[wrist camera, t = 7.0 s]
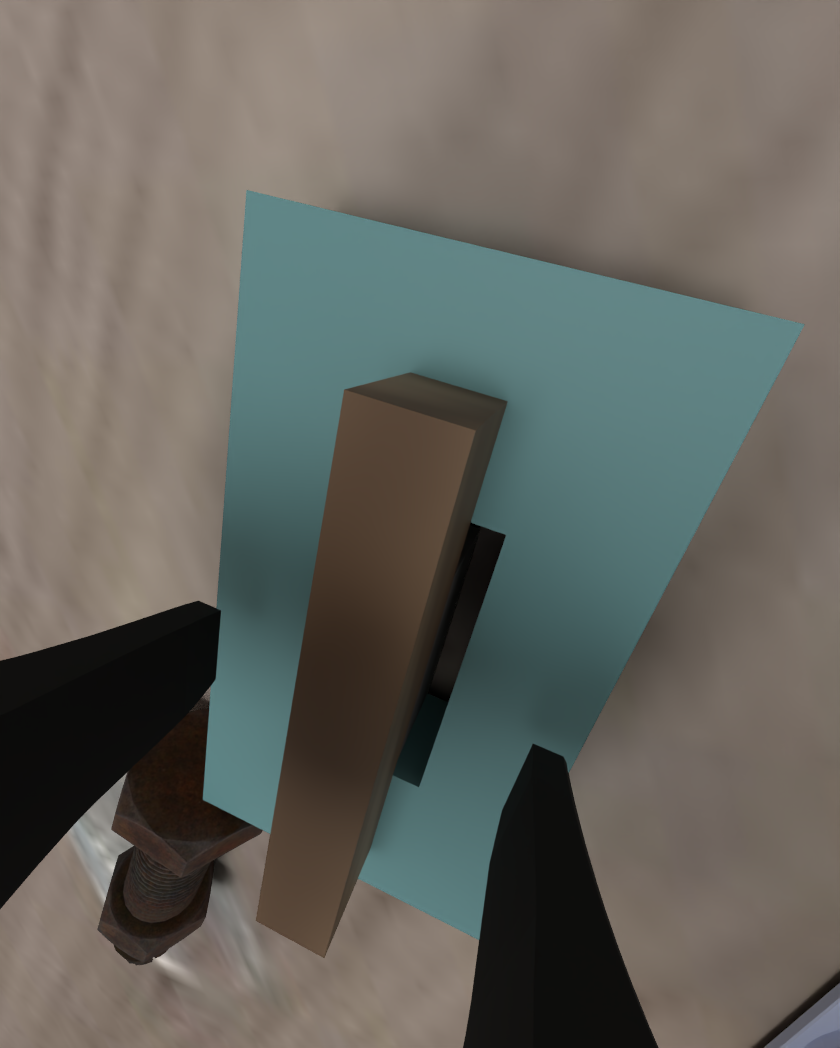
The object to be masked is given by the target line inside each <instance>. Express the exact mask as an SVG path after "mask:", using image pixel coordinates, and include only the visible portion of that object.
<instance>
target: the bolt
mask: <svg viewBox="0 0 840 1048" xmlns="http://www.w3.org/2000/svg"><path fill="white" fill-rule="evenodd" d="M208 720H209V709H200V710H196V711H191V712H189V713H188V714H187V715H186V716H185V717H184V718H183V719H182V720H181V721H180V722H179V723H178V724H177V725H176V726H175V727H174V728H173V729H172V730H171V731H170V732H169V733H168V734H167V735H166V736H165V737H164V738H163V739H162V740H161V741H160V742H159V743H157V744H156V745H155V746H154V747H153V748H152V749H151V750H150V751H149V752H148V753H147V754H146V755H145V756H144V757H143V758H142V759H141V760H140V761H139V762H137V763H136V764H135V765H134V766H133V767H132V768H131V769H130V770H129V771H128V772H127V775H126V779H125V782H124V785H123V788H122V792H121V795H120V799H119V802H118V806H117V809H116V813H115V817H114V821H113V825H112V829H111V830H113V831H114V832H116V833H117V834H118V835H120V836H121V837H123V838H124V839H126V840H127V841H129V842H130V843H131V844H133V845H134V846H133V847H131V848H130V849H128V850H127V851H125V852H123V853H122V854H120V855H119V856H118V859H117V862H116V865H115V869H114V872H113V876H112V879H111V883H110V886H109V890H108V893H107V897H106V900H105V904H104V907H103V911H102V914H101V918H100V922H99V926H98V929H97V930H98V931H99V932H100V933H101V934H103V935H104V936H105V937H106V938H107V939H108V940H109V941H110V942H111V943H113V944H114V947H115V949H116V951H117V952H118V953H119V954H120V955H121V956H122V957H123V958H125V959H126V960H127V961H128V962H129V963H133V964H136V965H144V964H147V963H150V962H152V960H153V959H152V958H153V957H155V958H157V957H160V956H161V955H163V954H164V953H165V952H166V951H167V950H168V949H169V948H170V947H172V946H173V945H175V944H176V943H178V942H179V941H181V940H182V939H184V938H185V937H187V936H188V935H189V934H191V933H192V932H194V931H195V930H196V929H198V928H199V927H200V926H201V925H202V923H203V921H204V919H205V917H206V913H207V908H208V903H209V898H210V891H211V885H212V878H213V871H214V859H216V858H218V857H220V856H221V855H223V854H225V853H227V852H229V851H230V850H232V849H234V848H236V847H238V846H239V845H241V844H243V843H245V842H247V841H248V840H250V839H252V838H254V837H256V836H257V835H259V834H261V832H262V829H260V828H258V827H256V826H254V825H252V824H250V823H248V822H246V821H244V820H242V819H240V818H238V817H236V816H234V815H232V814H230V813H228V812H226V811H224V810H222V809H220V808H218V807H216V806H214V805H212V804H210V803H208V802H206V801H204V800H203V790H204V776H205V762H206V748H207V734H208Z"/></svg>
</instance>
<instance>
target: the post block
mask: <svg viewBox="0 0 840 1048" xmlns="http://www.w3.org/2000/svg"><path fill="white" fill-rule="evenodd" d="M804 325H805V324H801V323H797V322H793V321H789V320H785V319H780V318H776V317H772V316H768V315H764V314H760V313H755V312H751V311H747V310H743V309H739V308H735V307H730V306H726V305H722V304H718V303H714V302H710V301H706V300H701V299H697V298H693V297H689V296H685V295H681V294H676V293H672V292H668V291H664V290H660V289H656V288H652V287H647V286H643V285H639V284H635V283H631V282H627V281H622V280H618V279H614V278H610V277H606V276H602V275H597V274H593V273H589V272H585V271H581V270H577V269H573V268H568V267H564V266H560V265H556V264H552V263H548V262H543V261H539V260H535V259H531V258H527V257H523V256H519V255H514V254H510V253H506V252H502V251H498V250H494V249H489V248H485V247H481V246H477V245H473V244H469V243H464V242H460V241H456V240H452V239H448V238H444V237H440V236H435V235H431V234H427V233H423V232H419V231H415V230H410V229H406V228H402V227H398V226H394V225H390V224H386V223H381V222H377V221H373V220H369V219H365V218H361V217H356V216H352V215H348V214H344V213H340V212H336V211H331V210H327V209H323V208H319V207H315V206H311V205H307V204H302V203H298V202H294V201H290V200H286V199H282V198H277V197H273V196H269V195H265V194H261V193H257V192H252V191H248V190H247V192H246V206H245V220H244V234H243V248H242V261H241V275H240V289H239V303H238V317H237V331H236V345H235V359H234V373H233V387H232V400H231V414H230V428H229V442H228V456H227V470H226V484H225V498H224V512H223V526H222V540H221V553H220V567H219V581H218V595H217V609H219V610H221V619H220V632H219V645H218V657H217V670H216V680H215V681H214V682H213V684H212V685H211V692H210V706H209V720H208V734H207V748H206V762H205V776H204V790H203V800H204V801H206V802H208V803H210V804H212V805H214V806H216V807H218V808H220V809H222V810H224V811H226V812H228V813H230V814H232V815H234V816H236V817H238V818H240V819H242V820H244V821H246V822H248V823H250V824H252V825H254V826H256V827H258V828H260V829H262V830H264V831H266V832H267V833H269V834H270V833H271V827H272V821H273V815H274V809H275V803H276V797H277V791H278V784H279V778H280V772H281V766H282V760H283V754H284V748H285V742H286V736H287V730H288V724H289V718H290V712H291V706H292V700H293V694H294V688H295V682H296V676H297V670H298V664H299V658H300V652H301V646H302V640H303V634H304V628H305V622H306V616H307V610H308V604H309V598H310V592H311V586H312V580H313V574H314V568H315V562H316V556H317V550H318V544H319V538H320V532H321V526H322V520H323V514H324V508H325V502H326V496H327V490H328V484H329V478H330V472H331V466H332V460H333V454H334V448H335V442H336V435H337V429H338V423H339V417H340V411H341V405H342V399H343V393H344V389H348V388H352V387H356V386H360V385H364V384H367V383H371V382H375V381H379V380H383V379H387V378H390V377H394V376H398V375H402V374H406V373H410V372H411V373H414V374H418V375H421V376H425V377H428V378H431V379H435V380H438V381H441V382H445V383H448V384H451V385H455V386H458V387H462V388H465V389H468V390H472V391H475V392H478V393H482V394H485V395H488V396H492V397H495V398H499V399H502V400H505V401H508V402H507V406H506V409H505V412H504V416H503V419H502V422H501V425H500V429H499V432H498V435H497V438H496V442H495V445H494V448H493V451H492V455H491V458H490V461H489V464H488V468H487V471H486V474H485V477H484V481H483V484H482V487H481V490H480V494H479V497H478V500H477V503H476V507H475V510H474V513H473V516H472V520H471V523H473V524H476V525H479V526H482V527H485V528H488V529H490V530H493V531H496V532H499V533H502V534H505V535H506V537H505V540H504V543H503V546H502V549H501V552H500V555H499V558H498V561H497V563H496V566H495V569H494V572H493V575H492V578H491V581H490V584H489V587H488V590H487V592H486V595H485V598H484V601H483V604H482V607H481V610H480V613H479V616H478V618H477V621H476V624H475V627H474V630H473V633H472V636H471V639H470V642H469V644H468V647H467V650H466V653H465V656H464V659H463V662H462V665H461V668H460V671H459V673H458V676H457V679H456V682H455V685H454V688H453V691H452V694H451V697H450V699H449V702H447V701H444V700H442V699H440V698H437V697H435V696H432V695H430V694H428V693H427V695H426V698H425V700H424V702H423V704H422V707H421V709H420V711H419V713H418V716H417V718H416V720H415V722H414V724H413V727H412V729H411V731H410V733H409V736H408V738H407V740H406V742H405V745H404V747H403V749H402V751H401V754H400V756H399V758H398V760H397V764H396V767H395V770H394V773H393V777H392V780H391V783H390V786H389V790H388V793H387V796H386V799H385V803H384V806H383V809H382V812H381V816H380V819H379V822H378V825H377V829H376V832H375V835H374V838H373V842H372V845H371V848H370V851H369V853H368V856H367V858H366V860H365V863H364V865H363V867H362V870H361V872H360V875H359V877H358V879H360V880H362V881H364V882H366V883H368V884H370V885H372V886H374V887H376V888H378V889H380V890H382V891H384V892H386V893H388V894H390V895H392V896H394V897H395V898H397V899H399V900H401V901H403V902H405V903H407V904H409V905H411V906H413V907H415V908H417V909H419V910H421V911H423V912H425V913H427V914H429V915H431V916H433V917H435V918H437V919H439V920H441V921H443V922H445V923H447V924H449V925H451V926H453V927H455V928H457V929H458V930H460V931H462V932H464V933H466V934H468V935H470V936H472V937H474V938H476V939H478V940H479V938H480V930H481V923H482V915H483V907H484V900H485V892H486V885H487V877H488V870H489V863H490V859H491V854H492V850H493V846H494V841H495V837H496V833H497V829H498V825H499V820H500V816H501V812H502V809H503V807H504V805H505V803H506V800H507V798H508V796H509V794H510V792H511V790H512V788H513V785H514V783H515V781H516V779H517V777H518V775H519V772H520V770H521V768H522V766H523V764H524V762H525V760H526V757H527V755H528V753H529V751H530V749H531V747H532V744H536V745H538V746H540V747H543V748H545V749H547V750H550V751H552V752H554V753H557V754H559V755H561V756H563V757H564V759H565V761H566V763H567V768H568V773H569V771H570V770H571V768H572V766H573V764H574V762H575V760H576V758H577V756H578V754H579V752H580V750H581V749H582V747H583V745H584V743H585V741H586V739H587V737H588V735H589V733H590V731H591V730H592V728H593V726H594V724H595V722H596V720H597V718H598V716H599V714H600V712H601V711H602V709H603V707H604V705H605V703H606V701H607V699H608V697H609V695H610V693H611V692H612V690H613V688H614V686H615V684H616V682H617V680H618V678H619V676H620V674H621V673H622V671H623V669H624V667H625V665H626V663H627V661H628V659H629V657H630V655H631V654H632V652H633V650H634V648H635V646H636V644H637V642H638V640H639V638H640V636H641V635H642V633H643V631H644V629H645V627H646V625H647V623H648V621H649V619H650V617H651V616H652V614H653V612H654V610H655V608H656V606H657V604H658V602H659V600H660V598H661V597H662V595H663V593H664V591H665V589H666V587H667V585H668V583H669V581H670V579H671V578H672V576H673V574H674V572H675V570H676V568H677V566H678V564H679V562H680V560H681V559H682V557H683V555H684V553H685V551H686V549H687V547H688V545H689V543H690V541H691V539H692V538H693V536H694V534H695V532H696V530H697V528H698V526H699V524H700V522H701V520H702V519H703V517H704V515H705V513H706V511H707V509H708V507H709V505H710V503H711V501H712V500H713V498H714V496H715V494H716V492H717V490H718V488H719V486H720V484H721V482H722V481H723V479H724V477H725V475H726V473H727V471H728V469H729V467H730V465H731V463H732V462H733V460H734V458H735V456H736V454H737V452H738V450H739V448H740V446H741V444H742V443H743V441H744V439H745V437H746V435H747V433H748V431H749V429H750V427H751V425H752V424H753V422H754V420H755V418H756V416H757V414H758V412H759V410H760V408H761V406H762V405H763V403H764V401H765V399H766V397H767V395H768V393H769V391H770V389H771V387H772V386H773V384H774V382H775V380H776V378H777V376H778V374H779V372H780V370H781V368H782V367H783V365H784V363H785V361H786V359H787V357H788V355H789V353H790V351H791V349H792V348H793V346H794V344H795V342H796V340H797V338H798V336H799V334H800V332H801V330H802V329H803V327H804Z"/></svg>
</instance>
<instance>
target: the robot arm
mask: <svg viewBox="0 0 840 1048" xmlns="http://www.w3.org/2000/svg"><path fill="white" fill-rule="evenodd" d="M220 619H221V610H219V609H217V608H214V607H212V606H209V605H207V604H205V603H202V602H200V601H196V602H192V603H189V604H185V605H182V606H179V607H176V608H173V609H170V610H167V611H164V612H161V613H158V614H155V615H152V616H149V617H146V618H143V619H140V620H137V621H134V622H131V623H128V624H125V625H122V626H119V627H116V628H113V629H110V630H107V631H103V632H100V633H97V634H94V635H91V636H88V637H84V638H81V639H78V640H74V641H71V642H67V643H64V644H60V645H57V646H54V647H50V648H47V649H43V650H40V651H36V652H33V653H29V654H25V655H22V656H18V657H14V658H10V659H6V660H2V661H0V909H1V908H2V906H3V905H4V904H5V903H6V902H7V901H8V899H9V898H10V897H11V896H12V895H13V893H14V892H15V891H16V890H17V889H18V888H19V886H20V885H21V884H22V883H23V882H24V881H25V879H26V878H27V877H28V876H29V875H30V874H31V872H32V871H33V870H34V869H35V868H36V867H37V865H38V864H39V863H40V862H41V861H42V860H43V859H44V858H45V856H46V855H47V854H48V853H49V852H50V851H51V850H52V849H53V847H54V846H55V845H56V844H57V843H58V842H59V841H60V840H61V838H62V837H63V836H64V835H65V834H66V833H67V832H68V831H69V830H70V828H71V827H72V826H73V825H74V824H75V823H76V822H77V821H78V820H79V819H80V818H81V817H82V816H83V814H84V813H85V812H86V811H87V810H88V809H89V808H90V807H91V806H92V805H93V804H94V803H95V802H96V801H97V800H98V799H99V798H100V797H102V796H103V795H104V794H105V793H106V792H107V791H108V790H109V789H110V788H111V787H112V786H113V785H114V784H115V783H116V782H117V781H118V780H119V779H121V778H122V777H123V776H124V775H125V774H126V773H127V772H128V771H129V770H130V769H131V768H132V767H133V766H134V765H135V764H136V763H137V762H139V761H140V760H141V759H142V758H143V757H144V756H145V755H146V754H147V753H148V752H149V751H150V750H151V749H152V748H153V747H154V746H155V745H156V744H157V743H159V742H160V741H161V740H162V739H163V738H164V737H165V736H166V735H167V734H168V733H169V732H170V731H171V730H172V729H173V728H174V727H175V726H176V725H177V724H178V723H179V722H180V721H181V720H182V719H183V718H184V717H185V716H186V715H187V714H188V713H189V711H190V710H191V709H192V708H193V707H194V706H195V704H196V703H197V702H198V701H199V700H200V699H201V697H202V696H203V695H204V694H205V692H206V691H207V690H208V689H209V687H210V686H211V685H212V684H213V682H214V681H215V680H216V670H217V657H218V645H219V632H220ZM463 1048H658V1045H657V1043H656V1041H655V1039H654V1036H653V1034H652V1032H651V1029H650V1027H649V1025H648V1022H647V1020H646V1017H645V1015H644V1012H643V1010H642V1007H641V1005H640V1002H639V1000H638V997H637V995H636V992H635V990H634V988H633V985H632V982H631V980H630V977H629V975H628V972H627V969H626V967H625V964H624V961H623V959H622V956H621V953H620V950H619V948H618V945H617V942H616V939H615V936H614V933H613V930H612V928H611V925H610V922H609V919H608V916H607V913H606V910H605V907H604V904H603V901H602V898H601V895H600V891H599V888H598V885H597V882H596V878H595V875H594V872H593V868H592V865H591V861H590V858H589V855H588V851H587V848H586V844H585V841H584V837H583V833H582V829H581V826H580V821H579V817H578V813H577V809H576V805H575V801H574V797H573V792H572V788H571V783H570V778H569V773H568V768H567V763H566V761H565V759H564V757H563V756H561V755H559V754H557V753H554V752H552V751H550V750H547V749H545V748H543V747H540V746H538V745H536V744H532V747H531V749H530V751H529V753H528V755H527V757H526V760H525V762H524V764H523V766H522V768H521V770H520V772H519V775H518V777H517V779H516V781H515V783H514V785H513V788H512V790H511V792H510V794H509V796H508V798H507V800H506V803H505V805H504V807H503V809H502V812H501V816H500V820H499V825H498V829H497V833H496V837H495V841H494V846H493V850H492V854H491V859H490V863H489V870H488V877H487V885H486V892H485V900H484V907H483V915H482V923H481V930H480V938H479V946H478V954H477V961H476V969H475V977H474V984H473V992H472V1000H471V1006H470V1012H469V1018H468V1024H467V1030H466V1036H465V1041H464V1046H463ZM764 1048H840V983H839V984H838V985H836V986H835V987H834V988H833V989H832V990H831V991H829V992H828V993H827V994H826V995H825V996H824V997H822V998H821V999H820V1000H819V1001H818V1002H817V1003H815V1004H814V1005H813V1006H812V1007H811V1008H810V1009H808V1010H807V1011H806V1012H805V1013H804V1014H803V1015H801V1016H800V1017H799V1018H798V1019H797V1020H795V1021H794V1022H793V1023H792V1024H791V1025H790V1026H788V1027H787V1028H786V1029H785V1030H784V1031H783V1032H781V1033H780V1034H779V1035H778V1036H777V1037H776V1038H774V1039H773V1040H772V1041H771V1042H770V1043H769V1044H767V1045H766V1046H765V1047H764Z"/></svg>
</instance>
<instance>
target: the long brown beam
mask: <svg viewBox="0 0 840 1048" xmlns="http://www.w3.org/2000/svg"><path fill="white" fill-rule="evenodd" d="M507 402H508V401H505V400H502V399H499V398H495V397H492V396H488V395H485V394H482V393H478V392H475V391H472V390H468V389H465V388H462V387H458V386H455V385H451V384H448V383H445V382H441V381H438V380H435V379H431V378H428V377H425V376H421V375H418V374H414V373H411V372H410V373H406V374H402V375H398V376H394V377H390V378H387V379H383V380H379V381H375V382H371V383H367V384H364V385H360V386H356V387H352V388H348V389H344V393H343V399H342V405H341V411H340V417H339V423H338V429H337V435H336V442H335V448H334V454H333V460H332V466H331V472H330V478H329V484H328V490H327V496H326V502H325V508H324V514H323V520H322V526H321V532H320V538H319V544H318V550H317V556H316V562H315V568H314V574H313V580H312V586H311V592H310V598H309V604H308V610H307V616H306V622H305V628H304V634H303V640H302V646H301V652H300V658H299V664H298V670H297V676H296V682H295V688H294V694H293V700H292V706H291V712H290V718H289V724H288V730H287V736H286V742H285V748H284V754H283V760H282V766H281V772H280V778H279V784H278V791H277V797H276V803H275V809H274V815H273V821H272V827H271V833H270V839H269V845H268V851H267V857H266V863H265V869H264V875H263V881H262V887H261V893H260V899H259V905H258V911H257V917H256V921H257V922H259V923H261V924H263V925H265V926H266V927H268V928H270V929H272V930H274V931H276V932H277V933H279V934H281V935H283V936H285V937H286V938H288V939H290V940H292V941H294V942H296V943H297V944H299V945H301V946H303V947H305V948H307V949H308V950H310V951H312V952H314V953H316V954H318V955H319V956H321V957H323V958H324V957H325V955H326V953H327V950H328V948H329V946H330V943H331V941H332V938H333V936H334V934H335V931H336V929H337V927H338V924H339V922H340V919H341V917H342V915H343V912H344V910H345V908H346V905H347V903H348V901H349V898H350V896H351V893H352V891H353V889H354V886H355V884H356V882H357V879H358V877H359V875H360V872H361V870H362V867H363V865H364V863H365V860H366V858H367V856H368V853H369V851H370V848H371V845H372V842H373V838H374V835H375V832H376V829H377V825H378V822H379V819H380V816H381V812H382V809H383V806H384V803H385V799H386V796H387V793H388V790H389V786H390V783H391V780H392V777H393V773H394V770H395V767H396V764H397V760H398V758H399V756H400V754H401V751H402V749H403V747H404V745H405V742H406V740H407V738H408V736H409V733H410V731H411V729H412V727H413V724H414V722H415V720H416V718H417V716H418V713H419V711H420V709H421V707H422V704H423V702H424V700H425V698H426V695H427V693H428V691H429V688H430V685H431V682H432V679H433V675H434V672H435V669H436V666H437V663H438V660H439V657H440V653H441V650H442V647H443V644H444V641H445V638H446V635H447V631H448V628H449V625H450V622H451V619H452V616H453V613H454V609H455V606H456V603H457V600H458V597H459V594H460V591H461V588H462V584H463V581H464V578H465V575H466V572H467V569H468V566H469V562H470V559H471V556H472V553H473V550H474V547H475V544H476V540H477V537H478V534H479V531H480V529H478V528H476V527H473V526H470V523H471V520H472V516H473V513H474V510H475V507H476V503H477V500H478V497H479V494H480V490H481V487H482V484H483V481H484V477H485V474H486V471H487V468H488V464H489V461H490V458H491V455H492V451H493V448H494V445H495V442H496V438H497V435H498V432H499V429H500V425H501V422H502V419H503V416H504V412H505V409H506V406H507Z"/></svg>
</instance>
